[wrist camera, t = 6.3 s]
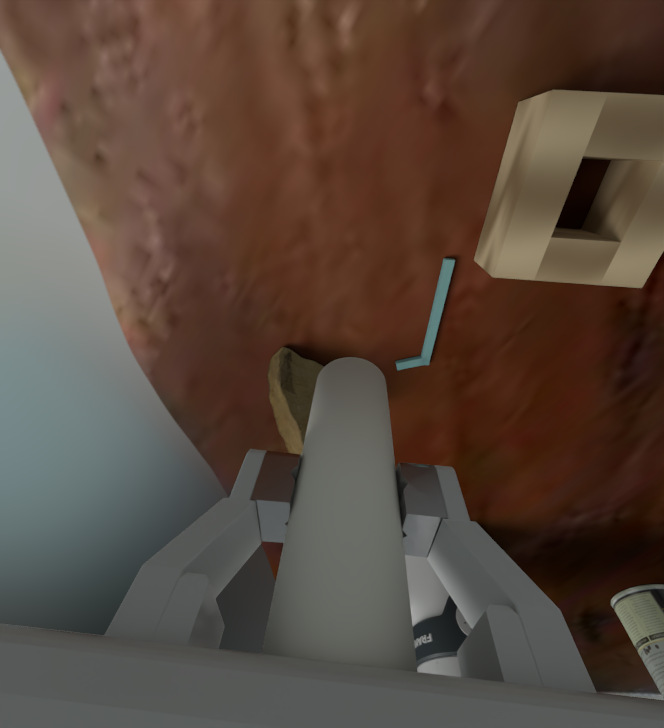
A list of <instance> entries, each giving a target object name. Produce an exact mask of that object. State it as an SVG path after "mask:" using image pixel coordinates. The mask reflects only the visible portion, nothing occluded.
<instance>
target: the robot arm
mask: <svg viewBox="0 0 664 728" xmlns="http://www.w3.org/2000/svg"><path fill="white" fill-rule="evenodd" d="M301 458H302V457H301V454H293V453H284V452H276V451H265V450H256V449H250V450H249V451H248V452H247V454H246V457H245V459H244V462H243V464H242V467H241V469H240V472H239V474H238V477H237V480H236V482H235V485H234V487H233V490H232V492H231V495H230V497H229V498H223V499H222V500H221V501H219V502H218V503H217V504H216V505H215V506H213V507H212V508H211V509H210V510H209V511H207V512H206V513H205V514H204V515H203V516H201V517H200V518H199V519H198V520H197V521H195V522H194V523H193V524H192V525H190V526H189V527H188V528H187V529H186V530H184V531H183V532H182V533H181V534H180V535H178V536H177V537H176V538H175V539H174V540H172V541H171V542H170V543H169V544H168V545H166V546H165V547H164V548H163V549H161V550H160V551H159V552H158V553H157V554H155V555H154V556H153V557H152V558H151V559H149V560H148V561H147V562H146V563H144V564H143V565H142V567H141V569H140V571H139V573H138V574H137V576H136V578H135V580H134V582H133V583H132V585H131V587H130V589H129V591H128V593H127V594H126V596H125V598H124V600H123V602H122V604H121V605H120V607H119V609H118V611H117V613H116V615H115V617H114V618H113V620H112V622H111V624H110V626H109V628H108V629H107V631H106V633H105V635H104V636H102V635H93V634H85V633H76V632H67V631H59V630H50V629H41V628H33V627H24V626H15V625H6V624H0V728H664V700H655V699H646V698H638V697H629V696H621V695H612V694H603V693H596V690H595V688H594V686H593V684H592V681H591V679H590V677H589V675H588V672H587V670H586V668H585V665H584V663H583V661H582V659H581V656H580V654H579V652H578V649H577V647H576V645H575V643H574V640H573V638H572V636H571V634H570V631H569V629H568V627H567V624H566V622H565V620H564V618H563V615H562V613H561V611H560V609H559V608H558V607H557V606H556V605H555V604H554V603H553V602H552V601H551V600H550V599H549V598H548V597H547V596H546V595H545V594H544V593H543V592H542V591H541V589H540V588H539V587H538V586H537V585H536V584H535V583H534V582H533V581H532V580H531V579H530V578H529V577H528V576H527V575H526V574H525V573H524V572H523V571H522V570H521V569H520V567H519V566H518V565H517V564H516V563H515V562H514V561H513V560H512V559H511V558H510V557H509V556H508V555H507V554H506V553H505V551H504V550H503V549H501V548H500V546H499V545H498V544H497V543H496V542H495V541H494V540H493V539H492V538H491V537H490V536H489V535H488V534H487V533H486V532H485V531H484V530H483V529H482V528H481V527H480V525H479V524H478V523H477V522H474V521H470V519H469V515H468V512H467V509H466V506H465V502H464V499H463V496H462V492H461V489H460V486H459V483H458V479H457V476H456V473H455V470H454V469H453V467H447V466H435V465H434V466H433V465H426V464H413V463H398V465H397V468H396V478H397V488H398V497H399V506H400V515H401V525H402V534H403V543H404V552H405V561H406V570H407V580H408V589H409V598H410V607H411V616H412V625H413V635H414V644H415V653H416V662H417V671H418V672H413V671H405V670H396V669H387V668H379V667H370V666H361V665H353V664H344V663H336V662H327V661H318V660H310V659H301V658H292V657H284V656H275V655H266V654H257V653H249V652H240V651H231V650H223V649H218V648H219V644H220V641H221V637H222V633H223V630H224V623H223V620H222V618H221V615H220V611H219V608H218V605H217V602H216V599H215V598H216V597H217V596H218V594H219V593H220V592H221V591H222V589H223V588H224V587H225V586H226V585H227V584H228V582H229V581H230V580H231V579H232V577H233V576H234V575H235V574H236V573H237V572H238V570H239V569H240V568H241V567H242V565H243V564H244V563H245V562H246V561H247V559H248V558H249V557H250V556H251V555H252V554H253V552H254V551H255V550H256V549H257V548H258V546H259V545H260V544H261V541H268V542H282V543H284V540H285V535H286V530H287V525H288V520H289V516H290V513H291V508H292V504H293V499H294V494H295V485H296V481H297V477H298V474H299V469H300V463H301Z"/></svg>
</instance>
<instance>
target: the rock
mask: <svg viewBox="0 0 664 728" xmlns="http://www.w3.org/2000/svg"><path fill="white" fill-rule="evenodd" d="M324 367H325V366H322V365H320V364H318V363H317V362H315V361H312V360H309V359H304V358H302V357H300V356H299V355H298V354H296V353H295V352H293V351H292V350H291V349H288V348H286V347H282V348H281V349H280V350H279V351H278V352H277V353H276V354H274V356H273V357H272V358H271V360H270V364H269V370H268V373H267V379H268V383H269V391H270V393H269V399H270V403H271V405H272V408H273V411H274V417H275V419H276V423H277V427H278V430H279V433H280V434H281V436H282V437H283V439H284V441H285V444H286V447H287V449H288V452H289V453H293V454H301V455H302V450H303V445H304V440H305V436H306V431H307V426H308V421H309V416H310V411H311V406H312V401H313V396H314V391H315V386H316V381H317V377H318V375H319V373H320V371H321V370H322V369H323V368H324Z"/></svg>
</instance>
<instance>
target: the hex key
mask: <svg viewBox="0 0 664 728" xmlns="http://www.w3.org/2000/svg"><path fill="white" fill-rule="evenodd" d="M454 263H455V259H452V258H444V259H443V264H442V268H441V272H440V276H439V281H438V285H437V289H436V293H435V298H434V302H433V306H432V311H431V315H430V319H429V323H428V328H427V332H426V336H425V341H424V345H423V349H422V353H421V356H417V357H412V358H407V359H402V360H398V361H395V362H396V367H397V370H402V369H406V368H411V367H416V366H421V365H429V362H430V358H431V354H432V350H433V346H434V342H435V338H436V334H437V330H438V326H439V322H440V319H441V315H442V311H443V307H444V303H445V299H446V295H447V291H448V287H449V283H450V279H451V275H452V271H453V267H454Z"/></svg>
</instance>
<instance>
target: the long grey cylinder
mask: <svg viewBox="0 0 664 728" xmlns="http://www.w3.org/2000/svg"><path fill="white" fill-rule="evenodd" d="M301 457H302V458H301V463H300V469H299V474H298V477H297V481H296V485H295V494H294V499H293V504H292V508H291V513H290V516H289V520H288V525H287V530H286V535H285V540H284V544H283V549H282V554H281V559H280V564H279V569H278V574H277V579H276V584H275V589H274V594H273V599H272V604H271V609H270V614H269V619H268V624H267V629H266V634H265V639H264V643H263V649H262V653H261V654H266V655H275V656H284V657H292V658H301V659H310V660H318V661H327V662H336V663H344V664H353V665H361V666H370V667H379V668H387V669H396V670H405V671H413V672H418V671H417V662H416V653H415V644H414V635H413V625H412V616H411V607H410V598H409V589H408V580H407V570H406V561H405V552H404V543H403V534H402V525H401V515H400V506H399V497H398V488H397V479H396V469H395V460H394V451H393V442H392V433H391V424H390V414H389V405H388V396H387V387H386V380H385V377H384V375H383V373H382V372H381V370H380V369H379V368H378V367H377V366H376V365H374V364H373V363H371V362H369V361H367V360H365V359H361V358H356V357H344V358H339V359H336V360H334V361H332V362H330V363H328V364H327V365H326V366H325V367H324V368H323V369H322V370H321V371H320V373H319V375H318V377H317V381H316V386H315V391H314V396H313V401H312V406H311V411H310V416H309V421H308V426H307V431H306V436H305V440H304V445H303V450H302V455H301Z"/></svg>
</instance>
